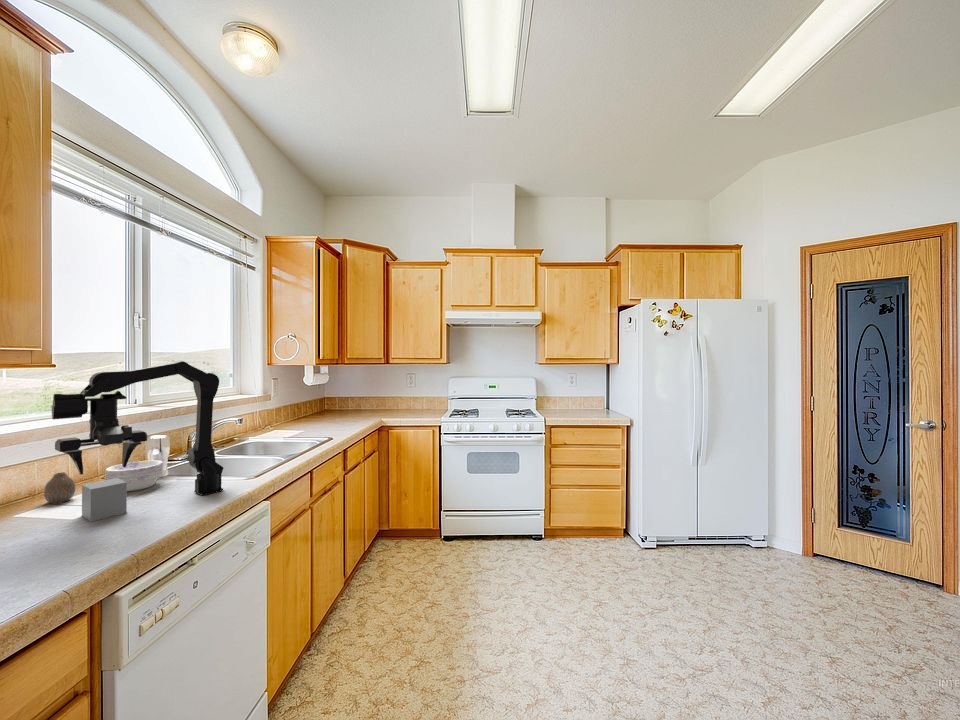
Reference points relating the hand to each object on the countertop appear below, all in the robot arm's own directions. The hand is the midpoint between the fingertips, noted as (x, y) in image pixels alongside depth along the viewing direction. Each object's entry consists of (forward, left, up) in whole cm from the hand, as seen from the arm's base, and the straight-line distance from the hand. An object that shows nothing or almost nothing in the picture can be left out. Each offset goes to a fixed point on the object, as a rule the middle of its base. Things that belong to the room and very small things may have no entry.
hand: (103, 470), depth 117 cm
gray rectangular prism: (0, 0, -12) cm, 12 cm away
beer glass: (-24, -33, -13) cm, 43 cm away
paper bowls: (-14, -23, -13) cm, 30 cm away
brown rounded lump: (+4, -25, -13) cm, 28 cm away
